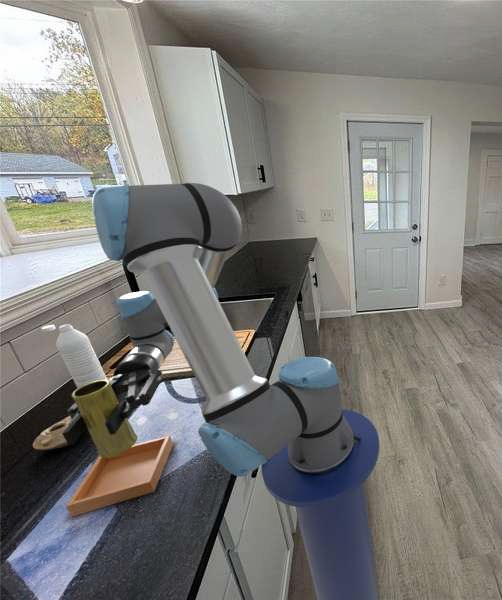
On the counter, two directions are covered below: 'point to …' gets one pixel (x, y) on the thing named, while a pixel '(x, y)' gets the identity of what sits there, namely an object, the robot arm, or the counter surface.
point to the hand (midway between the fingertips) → (89, 433)
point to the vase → (103, 418)
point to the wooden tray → (122, 476)
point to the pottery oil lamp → (52, 436)
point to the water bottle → (78, 355)
